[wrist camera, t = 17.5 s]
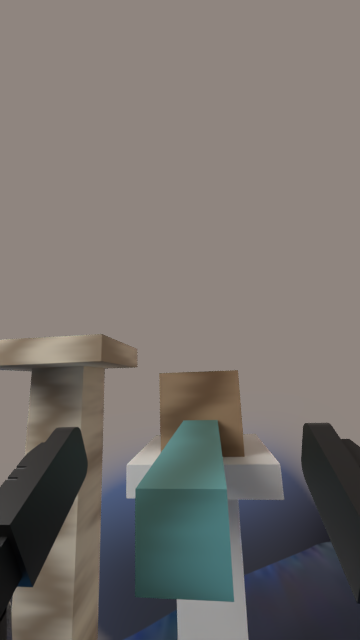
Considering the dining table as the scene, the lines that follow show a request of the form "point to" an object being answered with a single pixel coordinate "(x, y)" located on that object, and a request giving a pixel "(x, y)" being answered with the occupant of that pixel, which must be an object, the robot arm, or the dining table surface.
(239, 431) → the teal and brown block
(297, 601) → the dining table surface
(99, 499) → the marbled pedestal stand
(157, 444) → the white column stand
